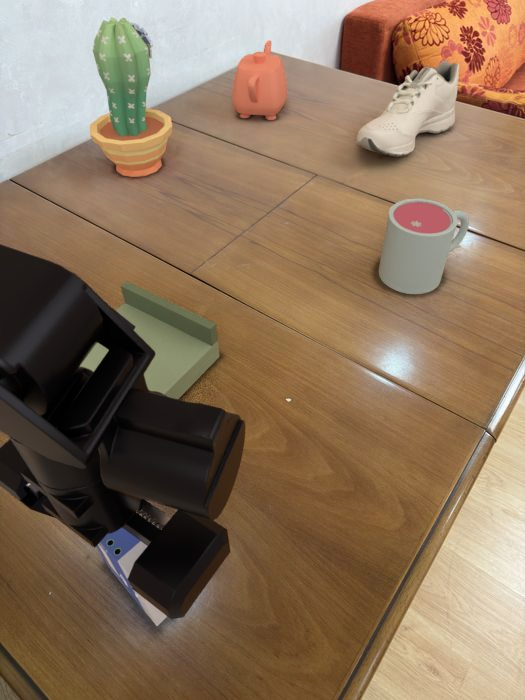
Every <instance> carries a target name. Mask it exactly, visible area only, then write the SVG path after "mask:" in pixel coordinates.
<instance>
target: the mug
mask: <svg viewBox="0 0 525 700" xmlns="http://www.w3.org/2000/svg"><path fill="white" fill-rule="evenodd" d="M459 220H460V224H459V229H458V231H457V233H456V229H457V226H458V223H459V222H458V221H459ZM469 225H470V221H469V217H468V214H467V213H466V212H465V211H463V210H460V209H459V210H458V209H457V210H452V209H451V208H450V207H448V206H447V205H445V204H443V203H442V202H438V201H436V200H433V199H428V198H407V199H402V200H400V201H397V202H396V203H394V204H393V205H392V206H391V207H390V208H389V211H388V215H387V221H386V227H385V231H384V232H385V233H384V237H383V244H382V247H381V248H382V249H381V254H380V259H379V265H378V276H379V278H380V280H381V282H383V284H385V285H386V286H387V287H388V288H390V289H392V290H394V291H395V292H396V291H397V292H399V293H402V294H407V295H424V294H428V293H431V292H432V291H434V290H435V289H437V288H438V287H439V285H440V283H441V282H442V281H441V280H442V277H443V274H444V270H445V267H446V264H447V260H448V256H449V253H451V252H453V251H454V250H455V249H456V248H457V247H458V246H459V245H460V244H461V243H462V241H463V240H464V238H465V236H466V235H467V232H468V230H469ZM455 233H456V234H455Z"/></svg>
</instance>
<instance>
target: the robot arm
mask: <svg viewBox="0 0 525 700" xmlns="http://www.w3.org/2000/svg"><path fill="white" fill-rule="evenodd" d="M134 329H135V326H134V325H133V324H132V323H131V322H129V321H128V320H127V319H126V318H124V317H123V316H122V315H120V314H119V313H118V312H117V311H116V309H115V308H113V307H112V306H111V305H109V304H108V302H106V301H105V300H104V299H103V298H102V297H101V296H100V295H99V294H98V293H97V292H96V291H95V290H94V289H93V288H92V287H91V286H90V285H89V284H88V283H87V282H86V281H85V280H84V279H82V277H80V276H79V275H78V274H76V273H75V272H73V271H71V270H70V269H68V268H66V267H65V266H63V265H61V264H59V263H56V262H54V261H52V260H48V259H46V258H42V257H40V256H36V255H34V254H31V253H28V252H25V251H22V250H19V249H16V248H14V247H10V246H8V245H5V244H4V245H3V244H2V243H0V432H1V433H3V434H5V435H6V436H8V438H9V439H8V440H7V441H5V442H4V443H3V444H1V446H0V487H1V488H2V489H3V490H5V491H6V492H7V493H9V494H10V495H11V496H12V497H14V498H15V499H16V500H17V501H19V502H20V503H22V504H23V505H24V506H26V507H27V508H28V509H29V510H30V511H34V512H36V513H39V514H42V515H46V516H48V517H51V518H54V519H56V520H58V521H59V522H60V523H61V524H63V525H64V526H65V527H67V528H68V529H69V530H70V531H72V532H73V533H74V534H76V535H77V536H78V537H79V538H81V539H82V540H83V541H85V542H86V543H87V544H89V545H90V546H91V547H92V548H94V549H95V548H97V547H96V546H97V545H98V544H99V543H100V542H101V541H102V540H103V539H104V537H105V536H106V535H107V534H111V533H114V532H116V531H117V530H119V529H121V528H123V529H125V530H126V531H128V532H129V533H130V534H132V535H133V536H134V537H136V538H137V539H139V540H140V541H141V542H143V543H144V544H145V545H147V547H146V549H145V550H144V551H143V552H142V554H141V555H140V556H139V557H138V558H137V560H136V561H135V562H134V565H133V567H132V569H131V572H130V574H129V577H128V581H129V583H130V585H131V586H132V589H133V590H134V591H136V592H137V593H138V594H139V595H141V596H142V597H143V598H144V599H146V600H147V601H148V602H149V603H151V604H152V605H153V606H155V607H156V608H157V609H158V610H160V611H161V612H162V613H164V614H165V615H166V616H167V617H166V618H168V619H170V620H171V621H172V620H176V619H180V618H185V616H186V615H187V613H188V612H189V610H190V609H191V608H192V607H193V605H194V603H195V602H196V601H197V599H198V598H199V596H201V594H202V592H203V591H204V589H205V588H206V587H207V585H208V584H209V582H210V581H211V580H212V578H213V577H214V575H216V573H217V571H218V570H219V569H220V567H221V566H222V564H223V563H224V562H225V560H226V559H227V558H228V556H229V555H230V553H231V544H230V539H229V532H228V529H227V528H226V527H224V526H223V525H221V524H219V523H218V522H217V521H216V520H217V519H218V518H219V516H220V515H222V513H223V511H224V509H225V507H226V506H227V503H228V501H229V500H230V497H231V494H232V491H233V489H234V486H235V484H236V480H237V477H238V473H239V470H240V466H241V462H242V458H243V454H244V447H245V439H246V421H245V420H244V419H242V418H241V416H240V414H237V413H233V412H229V411H226V410H224V409H223V407H218V406H213V405H209V404H205V403H201V402H189V401H186V400H182V399H174V398H170V397H168V396H166V395H164V394H162V393H160V392H157V391H150V390H149V389H148V387H147V384H146V381H145V377H144V373H145V372H146V370H147V368H148V367H149V365H150V363H151V362H152V360H153V359H154V357H155V354H156V353H155V351H154V350H153V349H152V348H151V347H150V346H149V345H148V344H147V343H146V342H145V341H144V340H143V339H142V338H141V337H140V336H139V335H138V334H137V333H136V332H135V331H134ZM96 343H99V344H101V345H102V346H104V347H105V348H107V349H108V350H109V351H108V352H107V354H106V355H105V356H104V358H103V359H102V361H101V362H100V364H99V365H98V366H97V368H96V369H95V371H94V372H93V371H92V370H90V369H87V368H84V367H81V366H80V365H81V364H82V362H83V361H84V360H85V358H86V357H87V356H88V354H89V353H90V352H91V350H92V349H93V347H94V346H95V345H96ZM152 503H155V504H158V505H161V506H164V507H168V508H171V509H175V510H176V511H175V512H174V514H173V515H172V516H170V515H168V514H167V513H165V512H164V511H162V510H161V509H160V508H158V507H157V506H155V505H153V504H152Z"/></svg>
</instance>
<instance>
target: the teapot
mask: <svg viewBox="0 0 525 700" xmlns="http://www.w3.org/2000/svg"><path fill="white" fill-rule="evenodd" d="M287 81H288V80H287V75H286V71H285V67H284V63H283V60H282V57H281V56H279V55H275V54H272V41H271V40H267V41H266V42H265V44H264V48H263V51H256V52H253V53H248V54H246V55H244V56H243V57H242V58H241V59H240V60H239V62H238V64H237V67H236V71H235V74H234V80H233V85H232V105H233V107H234V109H235V111H236V112H237V113H239V118H242V119H248V118H251V115H254V116H264V117H265V119H266V120H269V121H274V120H276V119H277V114H278V113H279V112H280V111H281V110H282V109H283V108H284V105H285V103H286V101H287V98H288V82H287Z"/></svg>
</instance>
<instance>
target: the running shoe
mask: <svg viewBox="0 0 525 700" xmlns="http://www.w3.org/2000/svg"><path fill="white" fill-rule="evenodd" d="M459 76H460V63H458V62H454V63H450V62H449V61H447V60H442V61H441V62H440V63H439V64H438V65H437V67H436V68H435V67H432V66H425V67H423V68H422V69H421V70H419V72H418V71H417V70H416V69H413V70H412V71H411V72H410V74H408V75H406V76H405V77H404V82H403V83H401V84H399V85H398V87H396V90H395V92H394V93H393V95H392V97H391V99H390V100H389V102H388V104H387V105H386V107H385V108H384V110H383V112H382V113H381V115H379V116H378V117H376V118H373V119H372V120H370V121H368V122H367V123H366V124H364V125H363V126H362V128H360V129H359V131H358V133H357V137H356V142H355V144H356V145H357V146H359V147H362V148H363V149H366V150H368V151H371V152H374V153H378V154H380V155H384V156H388V157H395V158H402V157H406V156H407V157H408V156H409V155H411V154H412V153H413V151H414V149H415V147H416V137H417V136H418V135H419V134H422V133H423V134H424V133H431V134H440V133H443V132H446V131H448V130H449V129H451V128H452V127H453V126H454V125H455V122H456V105H455V104H456V101H457V96H458V87H459V80H460V77H459Z"/></svg>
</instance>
